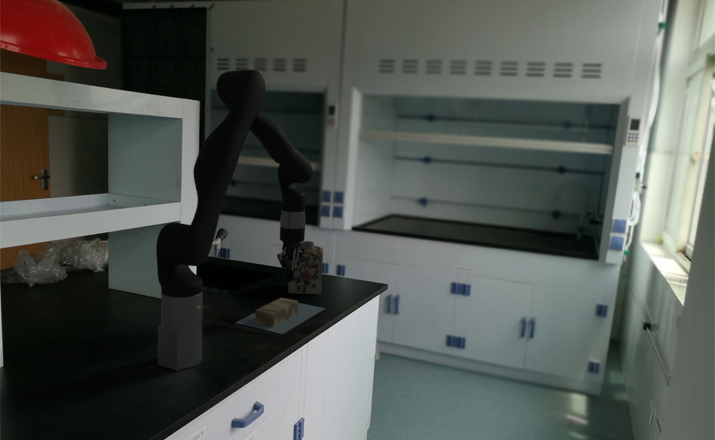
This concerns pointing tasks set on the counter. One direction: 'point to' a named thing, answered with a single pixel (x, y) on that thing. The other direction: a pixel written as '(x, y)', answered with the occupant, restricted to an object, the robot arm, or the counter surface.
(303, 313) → the mat
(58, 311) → the counter surface
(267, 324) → the maple block
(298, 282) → the decorative jar
